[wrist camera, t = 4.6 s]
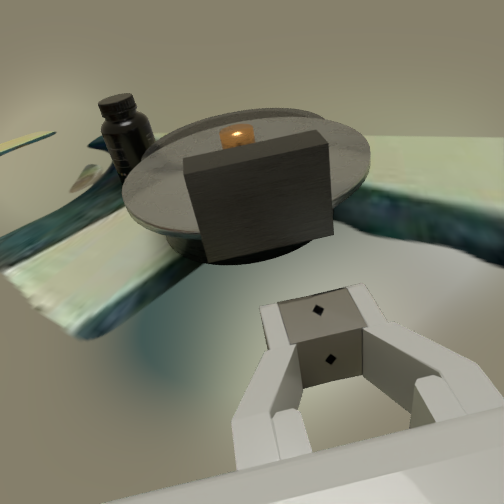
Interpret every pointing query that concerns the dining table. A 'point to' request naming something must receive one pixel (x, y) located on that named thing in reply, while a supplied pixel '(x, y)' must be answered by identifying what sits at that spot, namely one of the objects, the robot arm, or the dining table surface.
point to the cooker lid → (249, 184)
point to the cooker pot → (195, 246)
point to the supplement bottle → (125, 132)
